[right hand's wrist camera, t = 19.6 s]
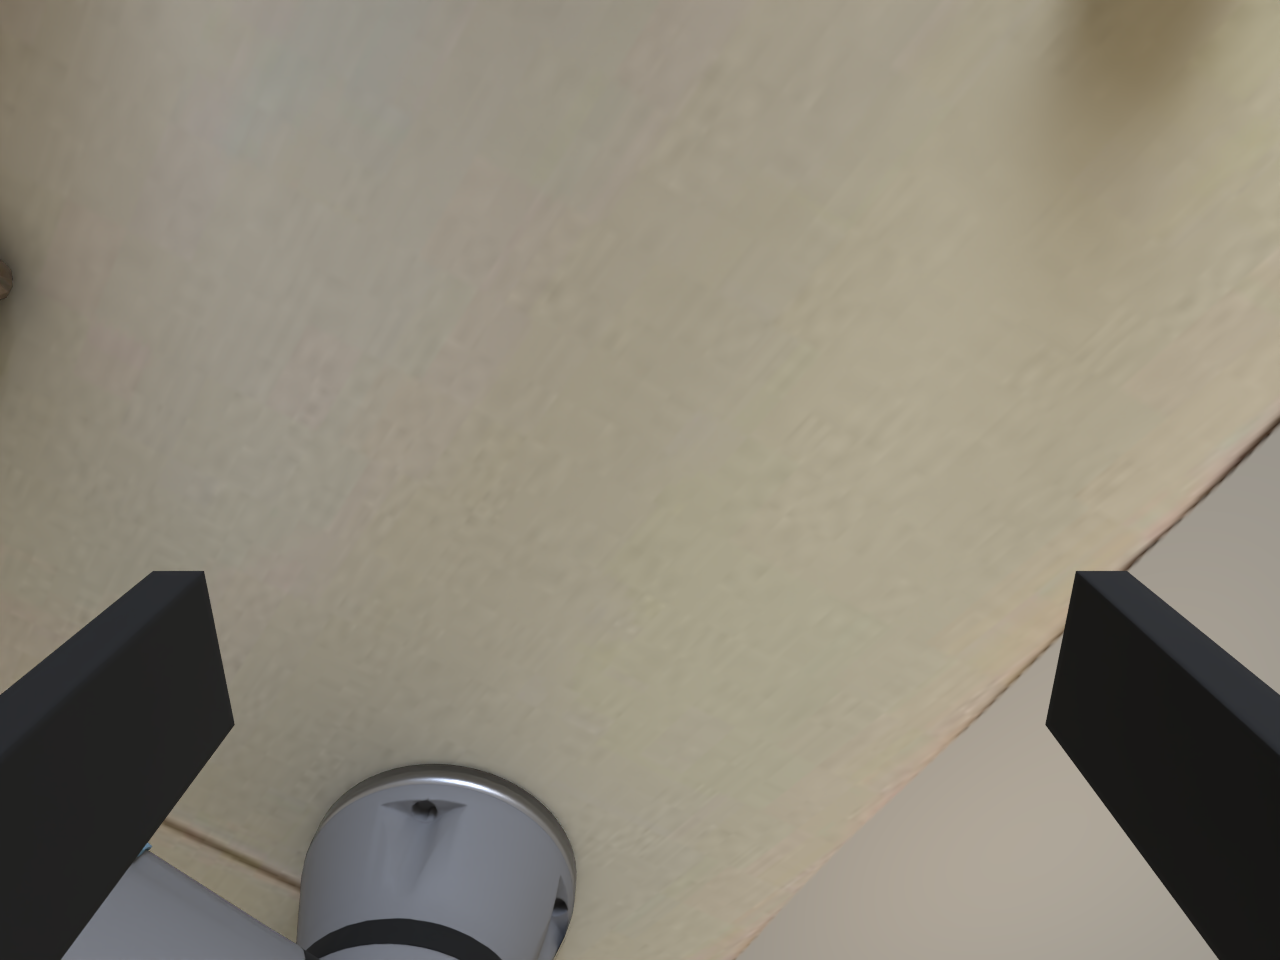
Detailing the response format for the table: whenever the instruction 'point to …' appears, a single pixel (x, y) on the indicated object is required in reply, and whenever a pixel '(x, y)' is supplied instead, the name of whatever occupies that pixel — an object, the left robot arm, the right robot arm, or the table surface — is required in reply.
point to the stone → (5, 280)
